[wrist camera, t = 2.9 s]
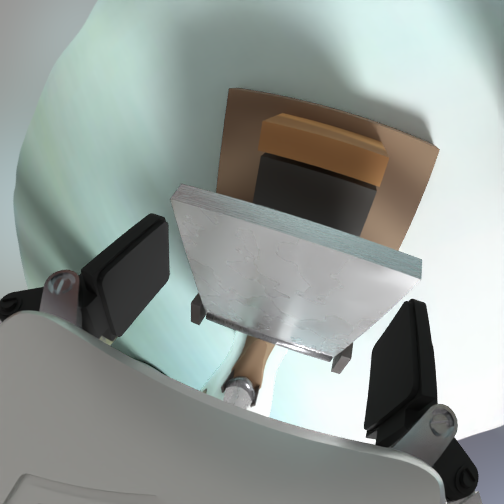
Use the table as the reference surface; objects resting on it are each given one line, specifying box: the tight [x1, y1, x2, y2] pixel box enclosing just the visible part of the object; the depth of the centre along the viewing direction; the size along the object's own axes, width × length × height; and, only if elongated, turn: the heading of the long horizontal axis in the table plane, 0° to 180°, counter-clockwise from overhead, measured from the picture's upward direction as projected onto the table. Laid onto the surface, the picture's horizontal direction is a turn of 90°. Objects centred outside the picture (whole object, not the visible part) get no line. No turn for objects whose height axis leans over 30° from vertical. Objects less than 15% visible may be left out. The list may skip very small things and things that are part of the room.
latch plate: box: [191, 88, 440, 374], centre depth 20 cm, size 19×14×6 cm
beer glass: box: [200, 331, 289, 417], centre depth 25 cm, size 7×7×15 cm
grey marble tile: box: [170, 184, 422, 362], centre depth 18 cm, size 15×11×2 cm
